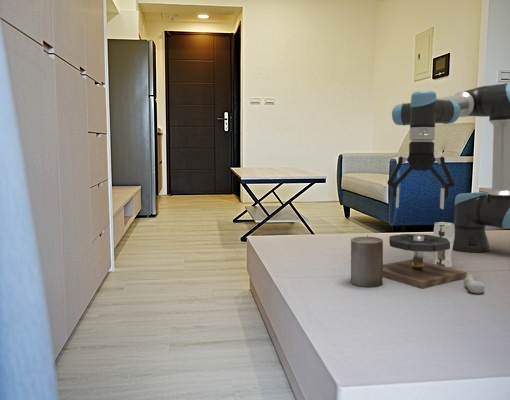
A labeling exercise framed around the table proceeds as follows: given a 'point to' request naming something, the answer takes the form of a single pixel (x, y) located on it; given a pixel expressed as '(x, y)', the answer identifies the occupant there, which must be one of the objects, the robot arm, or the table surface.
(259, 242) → the table surface
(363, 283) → the pillar candle
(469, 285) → the smooth white sculpture
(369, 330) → the table surface
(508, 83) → the robot arm
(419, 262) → the steel post
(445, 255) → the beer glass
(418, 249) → the dark grey faceted disc
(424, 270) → the walnut base
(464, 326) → the table surface
